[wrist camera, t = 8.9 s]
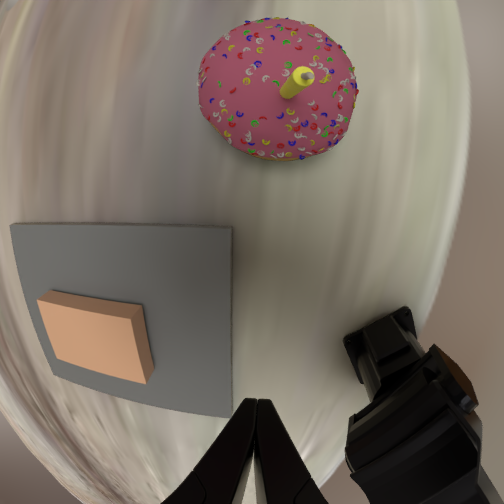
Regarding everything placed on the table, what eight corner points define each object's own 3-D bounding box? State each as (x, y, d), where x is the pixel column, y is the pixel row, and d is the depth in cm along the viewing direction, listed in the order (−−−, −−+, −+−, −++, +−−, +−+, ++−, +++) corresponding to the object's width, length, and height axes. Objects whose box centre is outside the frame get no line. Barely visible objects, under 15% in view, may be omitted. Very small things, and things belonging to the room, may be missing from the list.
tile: (130, 319, 19) (36, 299, 19) (146, 384, 21) (57, 358, 22) (143, 303, 21) (51, 288, 22) (155, 367, 23) (68, 345, 24)
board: (232, 226, 20) (230, 229, 19) (232, 413, 26) (231, 418, 25) (14, 223, 21) (9, 225, 20) (56, 371, 27) (53, 374, 26)
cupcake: (353, 144, 17) (460, 127, 6) (237, 178, 18) (185, 203, 7) (311, 38, 15) (348, -70, 3) (198, 71, 16) (117, -15, 5)
